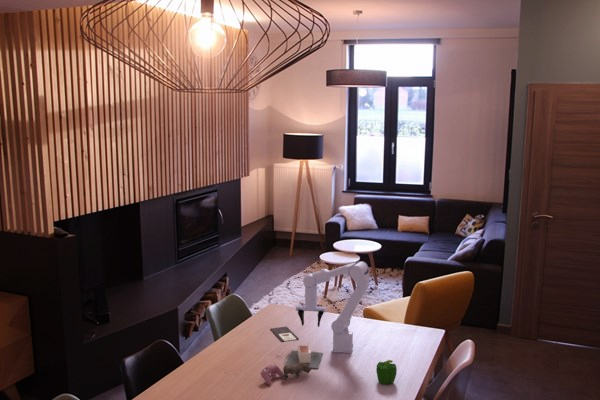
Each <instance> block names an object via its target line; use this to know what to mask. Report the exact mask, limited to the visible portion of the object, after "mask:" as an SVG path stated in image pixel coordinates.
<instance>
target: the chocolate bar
mask: <svg viewBox="0 0 600 400" xmlns="http://www.w3.org/2000/svg"><path fill="white" fill-rule="evenodd" d="M270 331H271V332H272V333H273V335H275V336H276V338H277V339H279V341H280V342H281V343H284V342H291V341H297V340H298V341H299V337H298V336H297V335H296V334H295V333H294V332H293V331H292V330H291V329H290V328H289V327H288V326H280V327H272V328H270Z"/></svg>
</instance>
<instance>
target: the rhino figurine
mask: <svg viewBox="0 0 600 400" xmlns="http://www.w3.org/2000/svg"><path fill="white" fill-rule="evenodd" d="M307 367H309V366H307V362H306V364H303V363H298V364H295V365H286V366H283V370H282V372H283V374H284V375H283V378H282V381H287V378H289V374H290V375H295V377H296V379H300V378H301V377H300V374H301V373H302V371H303V372H304V373H307V374H309V373H310V371H311V370H313V369H312V368H310V367H309V368H310V369H309V368H307Z"/></svg>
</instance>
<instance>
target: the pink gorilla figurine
mask: <svg viewBox="0 0 600 400" xmlns="http://www.w3.org/2000/svg"><path fill="white" fill-rule="evenodd" d="M277 375H278V377H280V378H282V379H283V375H284V371H283V370H281V368H280V367H279V366H278V365H277V364H270V365H266V366H265V367H264V368H263V369H262V370H261V372H260V376H261V378H262V379H263V380H264V382H265V383H266V384H267V385H269V386H271V385H272V384H273V382H272V379H276V378H277Z"/></svg>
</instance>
